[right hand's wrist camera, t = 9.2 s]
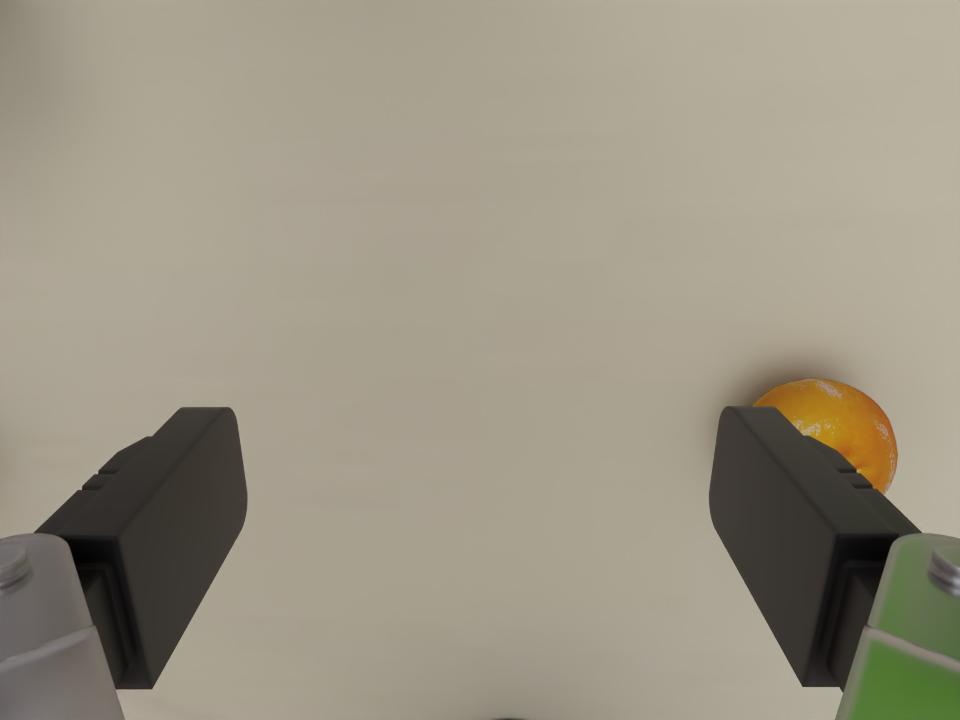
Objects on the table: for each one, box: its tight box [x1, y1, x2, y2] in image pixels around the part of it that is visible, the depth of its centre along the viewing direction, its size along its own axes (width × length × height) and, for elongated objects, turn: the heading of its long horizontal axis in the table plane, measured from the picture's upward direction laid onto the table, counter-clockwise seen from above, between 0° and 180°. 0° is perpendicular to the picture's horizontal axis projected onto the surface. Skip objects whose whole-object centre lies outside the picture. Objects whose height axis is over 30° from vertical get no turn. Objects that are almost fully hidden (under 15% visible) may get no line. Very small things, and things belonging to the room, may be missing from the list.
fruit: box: [753, 378, 898, 495], centre depth 40 cm, size 8×8×8 cm
